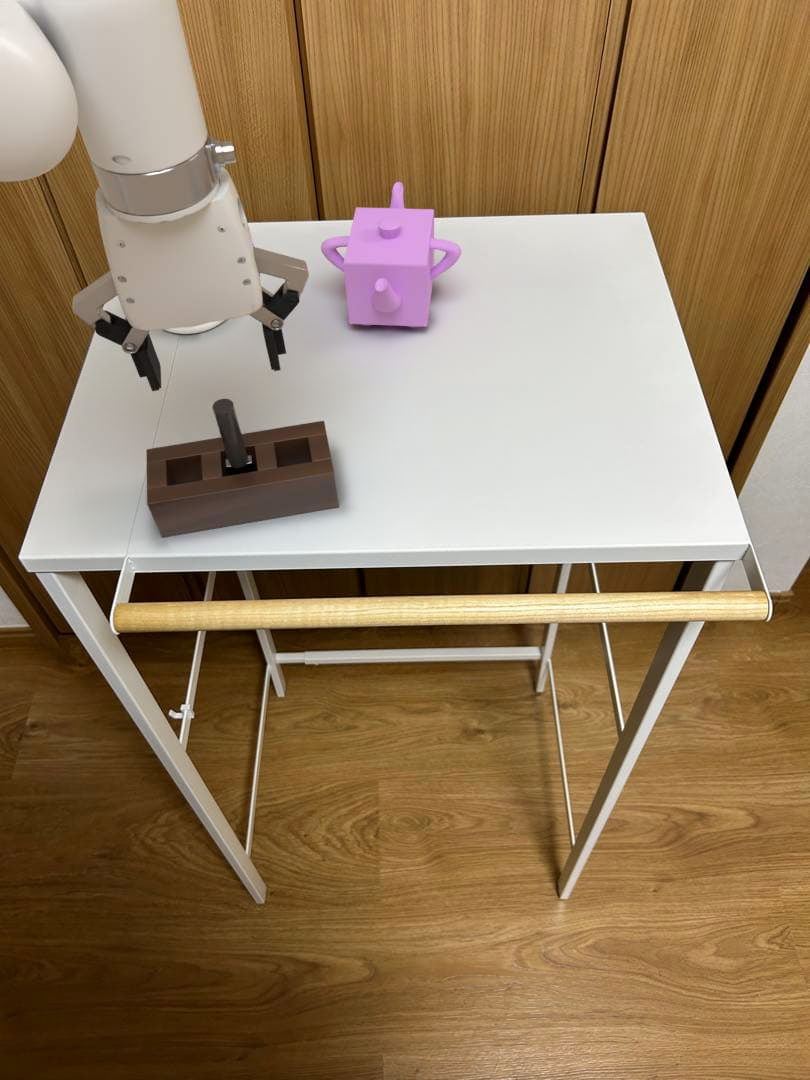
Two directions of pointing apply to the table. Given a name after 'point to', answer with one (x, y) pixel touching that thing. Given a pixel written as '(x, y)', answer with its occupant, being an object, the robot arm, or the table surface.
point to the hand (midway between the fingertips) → (216, 369)
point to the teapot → (390, 263)
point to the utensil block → (240, 480)
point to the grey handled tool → (232, 438)
